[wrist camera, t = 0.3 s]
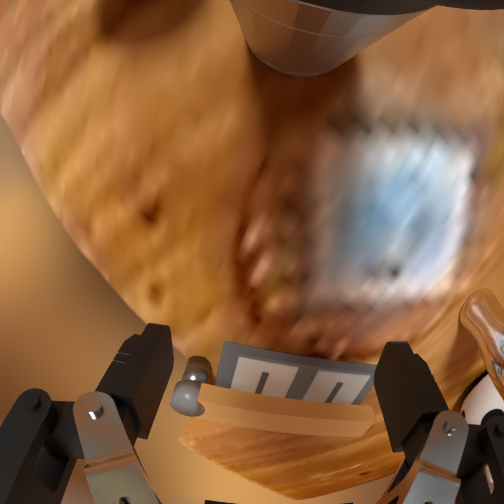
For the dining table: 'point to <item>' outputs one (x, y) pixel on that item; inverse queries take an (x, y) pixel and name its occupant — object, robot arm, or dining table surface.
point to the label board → (293, 375)
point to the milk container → (482, 405)
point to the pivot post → (197, 369)
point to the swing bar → (270, 411)
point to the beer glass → (487, 332)
